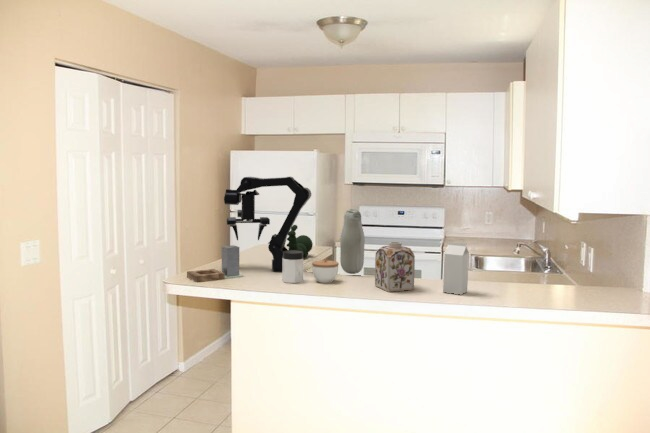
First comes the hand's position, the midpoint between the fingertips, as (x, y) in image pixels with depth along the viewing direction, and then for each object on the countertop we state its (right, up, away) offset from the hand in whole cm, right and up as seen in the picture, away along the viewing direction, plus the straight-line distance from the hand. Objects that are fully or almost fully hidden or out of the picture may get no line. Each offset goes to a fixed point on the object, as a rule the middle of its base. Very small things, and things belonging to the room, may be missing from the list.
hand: (247, 240), depth 259 cm
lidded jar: (+34, -16, -22) cm, 44 cm away
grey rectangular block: (-5, -14, -14) cm, 21 cm away
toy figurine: (+22, -11, +32) cm, 40 cm away
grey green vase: (+46, -15, -4) cm, 48 cm away
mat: (-5, -14, -14) cm, 21 cm away
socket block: (-15, -15, -20) cm, 29 cm away
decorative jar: (+61, -18, -33) cm, 71 cm away
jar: (+21, -16, -23) cm, 35 cm away
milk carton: (+84, -18, -38) cm, 94 cm away
